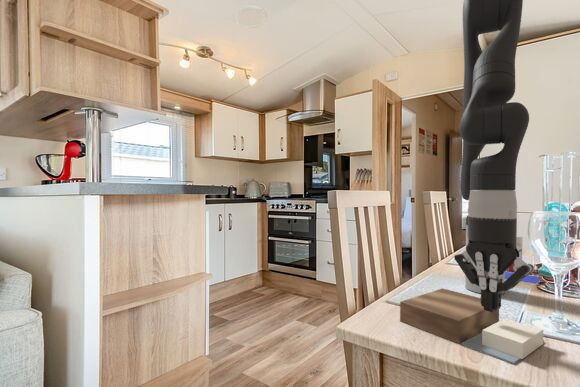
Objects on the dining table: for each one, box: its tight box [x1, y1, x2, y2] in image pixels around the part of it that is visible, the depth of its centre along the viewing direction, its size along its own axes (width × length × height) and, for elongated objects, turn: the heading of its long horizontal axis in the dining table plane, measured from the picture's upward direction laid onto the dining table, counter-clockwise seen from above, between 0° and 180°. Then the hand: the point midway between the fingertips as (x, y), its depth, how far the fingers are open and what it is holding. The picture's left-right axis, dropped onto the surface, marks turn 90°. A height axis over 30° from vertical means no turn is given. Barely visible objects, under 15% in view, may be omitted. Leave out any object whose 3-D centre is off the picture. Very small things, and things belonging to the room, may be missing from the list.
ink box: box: [507, 235, 523, 272], centre depth 114 cm, size 9×5×12 cm, turn 179°
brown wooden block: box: [399, 287, 500, 344], centre depth 67 cm, size 16×12×4 cm
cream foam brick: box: [482, 318, 544, 360], centre depth 57 cm, size 9×6×2 cm, turn 126°
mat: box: [461, 332, 545, 365], centre depth 58 cm, size 13×8×1 cm, turn 126°
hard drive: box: [505, 271, 541, 286], centre depth 101 cm, size 2×8×12 cm
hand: (490, 310), depth 60 cm, fingers closed
